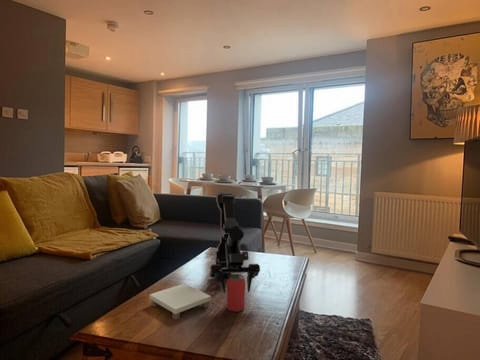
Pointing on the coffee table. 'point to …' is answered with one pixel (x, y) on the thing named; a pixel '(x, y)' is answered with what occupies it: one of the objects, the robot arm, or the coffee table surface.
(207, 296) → the white square platform
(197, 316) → the coffee table surface
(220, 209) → the robot arm
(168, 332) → the coffee table surface
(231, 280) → the beer can
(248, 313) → the coffee table surface
